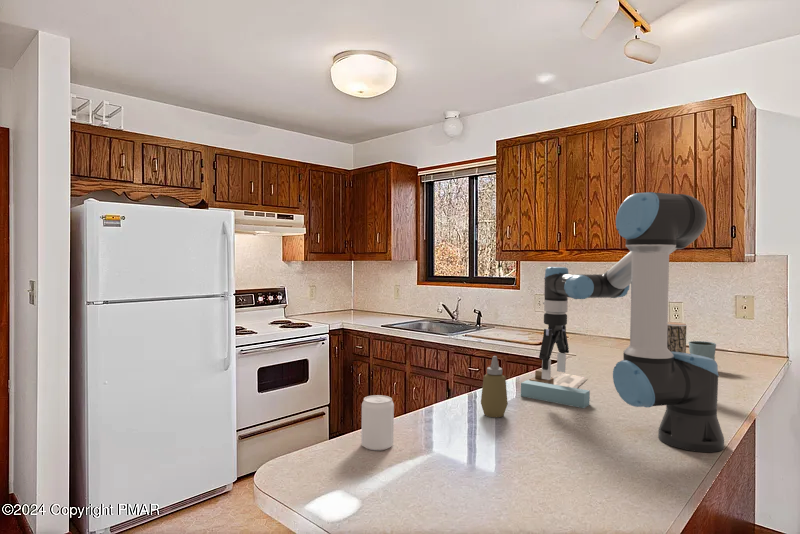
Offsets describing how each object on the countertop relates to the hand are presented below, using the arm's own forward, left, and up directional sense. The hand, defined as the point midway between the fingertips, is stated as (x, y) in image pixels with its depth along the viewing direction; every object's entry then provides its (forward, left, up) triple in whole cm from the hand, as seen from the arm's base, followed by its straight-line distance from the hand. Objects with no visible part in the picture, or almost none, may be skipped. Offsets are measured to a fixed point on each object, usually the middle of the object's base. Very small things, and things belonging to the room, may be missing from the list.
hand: (553, 375), depth 176 cm
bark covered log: (+37, -30, -9) cm, 48 cm away
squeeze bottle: (-28, +8, -9) cm, 30 cm away
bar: (0, 0, -9) cm, 9 cm away
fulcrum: (+11, +9, -8) cm, 16 cm away
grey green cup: (+87, -32, -9) cm, 93 cm away
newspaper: (+26, +6, -9) cm, 28 cm away
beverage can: (-70, +19, -9) cm, 73 cm away
